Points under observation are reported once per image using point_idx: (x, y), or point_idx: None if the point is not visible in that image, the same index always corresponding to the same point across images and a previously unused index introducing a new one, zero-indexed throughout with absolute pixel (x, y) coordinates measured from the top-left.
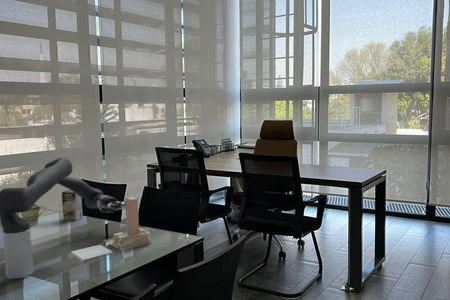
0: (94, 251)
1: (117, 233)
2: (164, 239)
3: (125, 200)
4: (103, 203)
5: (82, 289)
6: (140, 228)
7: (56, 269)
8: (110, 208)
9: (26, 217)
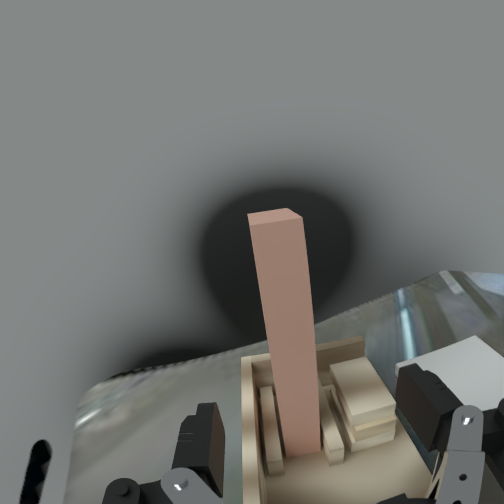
0: (461, 379)
1: (375, 405)
2: (162, 435)
3: (304, 236)
4: None
5: (436, 277)
6: (242, 412)
7: None
8: (436, 393)
9: None
